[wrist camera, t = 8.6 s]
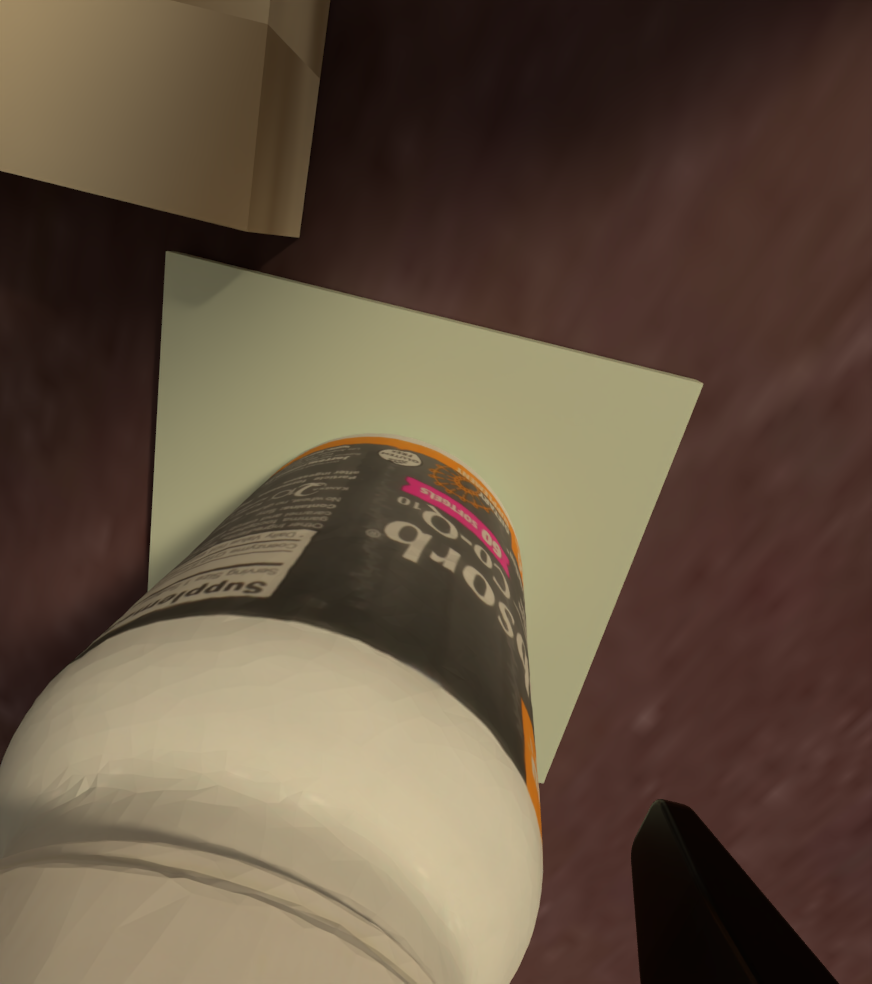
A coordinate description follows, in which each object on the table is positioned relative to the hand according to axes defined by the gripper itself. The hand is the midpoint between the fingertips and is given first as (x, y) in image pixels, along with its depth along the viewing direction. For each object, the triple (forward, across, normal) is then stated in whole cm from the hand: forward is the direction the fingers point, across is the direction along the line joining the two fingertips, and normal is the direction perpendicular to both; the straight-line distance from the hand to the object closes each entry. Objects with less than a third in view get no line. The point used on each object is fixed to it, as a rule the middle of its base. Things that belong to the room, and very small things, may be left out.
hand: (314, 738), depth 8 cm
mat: (+6, 0, 0) cm, 6 cm away
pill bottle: (+5, 0, 0) cm, 5 cm away
